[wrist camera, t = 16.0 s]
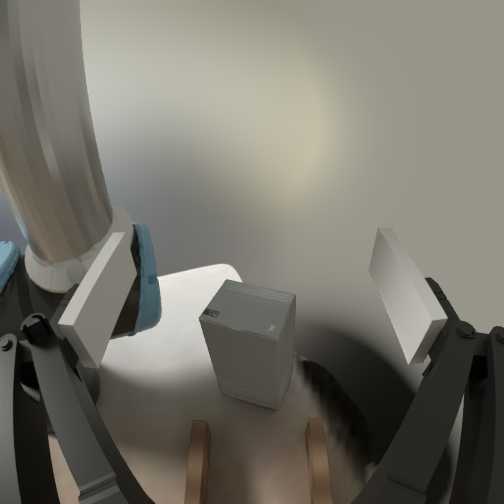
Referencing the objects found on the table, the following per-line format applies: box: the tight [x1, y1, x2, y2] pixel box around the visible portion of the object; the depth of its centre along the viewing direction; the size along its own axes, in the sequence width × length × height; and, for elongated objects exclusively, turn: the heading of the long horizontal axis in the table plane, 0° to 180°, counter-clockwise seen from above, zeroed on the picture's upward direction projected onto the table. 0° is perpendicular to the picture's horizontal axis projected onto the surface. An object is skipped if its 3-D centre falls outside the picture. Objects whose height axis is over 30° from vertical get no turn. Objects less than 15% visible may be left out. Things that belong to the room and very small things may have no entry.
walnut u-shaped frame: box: [184, 418, 333, 504], centre depth 24 cm, size 18×14×4 cm
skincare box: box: [199, 279, 296, 410], centre depth 34 cm, size 8×7×16 cm
